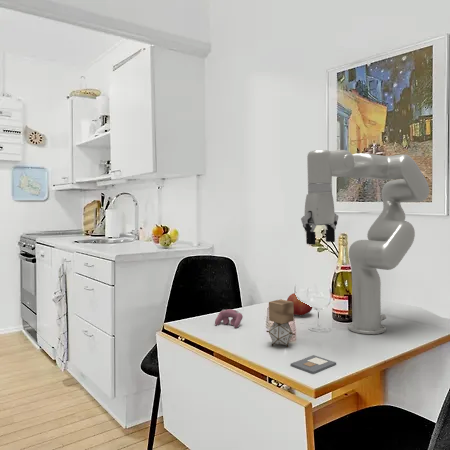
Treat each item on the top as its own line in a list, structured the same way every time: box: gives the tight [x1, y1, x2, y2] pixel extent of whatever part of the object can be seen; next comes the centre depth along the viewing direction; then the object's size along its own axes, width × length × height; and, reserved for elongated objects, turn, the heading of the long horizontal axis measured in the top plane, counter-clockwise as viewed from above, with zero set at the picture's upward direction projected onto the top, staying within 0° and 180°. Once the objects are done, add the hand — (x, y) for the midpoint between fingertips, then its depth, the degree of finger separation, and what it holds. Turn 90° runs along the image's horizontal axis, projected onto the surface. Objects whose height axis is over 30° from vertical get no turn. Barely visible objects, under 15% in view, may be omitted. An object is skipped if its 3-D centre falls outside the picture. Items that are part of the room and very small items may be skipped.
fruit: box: [286, 292, 313, 316], centre depth 174 cm, size 11×10×10 cm
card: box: [289, 354, 337, 375], centre depth 121 cm, size 10×8×1 cm
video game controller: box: [214, 308, 243, 329], centre depth 163 cm, size 10×5×7 cm, turn 58°
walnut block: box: [268, 298, 295, 324], centre depth 138 cm, size 6×6×6 cm
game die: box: [266, 322, 296, 348], centre depth 138 cm, size 9×8×10 cm
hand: (320, 243), depth 139 cm, fingers open, 9 cm apart
